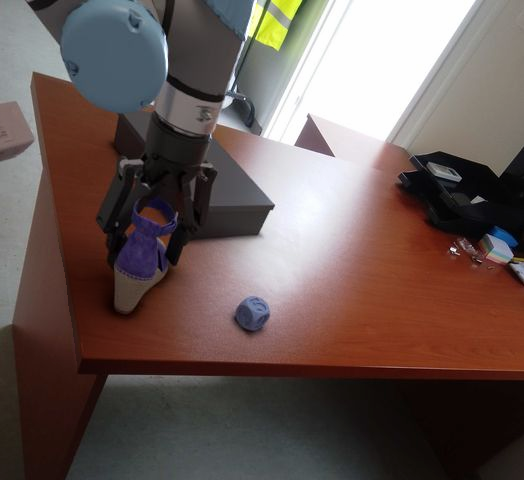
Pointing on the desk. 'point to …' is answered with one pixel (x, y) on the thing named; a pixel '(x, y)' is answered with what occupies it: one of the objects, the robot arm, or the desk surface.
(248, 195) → the shoebox
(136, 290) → the sandal
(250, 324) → the decorative dice
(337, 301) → the desk surface
